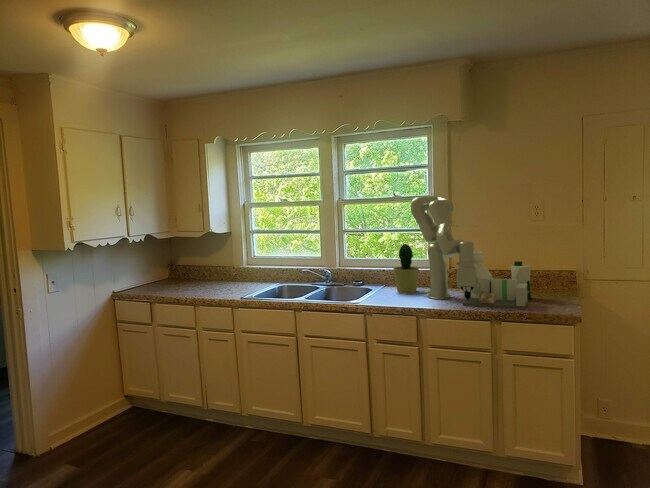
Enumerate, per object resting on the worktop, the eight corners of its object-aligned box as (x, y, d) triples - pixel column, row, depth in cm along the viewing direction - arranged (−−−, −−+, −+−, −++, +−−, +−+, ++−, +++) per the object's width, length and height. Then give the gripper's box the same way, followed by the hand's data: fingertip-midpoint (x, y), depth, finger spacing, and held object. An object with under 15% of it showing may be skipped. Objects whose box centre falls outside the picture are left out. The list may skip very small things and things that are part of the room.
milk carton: (522, 296, 270) (522, 260, 268) (533, 299, 261) (533, 262, 260) (509, 298, 268) (508, 261, 266) (519, 301, 259) (519, 263, 257)
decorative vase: (500, 296, 273) (499, 252, 271) (474, 300, 267) (473, 254, 265) (479, 291, 290) (478, 249, 288) (454, 295, 283) (452, 252, 281)
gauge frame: (463, 305, 256) (462, 282, 255) (468, 300, 267) (467, 277, 266) (524, 309, 242) (524, 284, 241) (527, 303, 254) (527, 279, 252)
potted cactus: (389, 291, 305) (387, 243, 302) (412, 288, 309) (410, 241, 306) (400, 295, 290) (399, 245, 287) (424, 292, 295) (422, 243, 292)
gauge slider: (479, 302, 254) (478, 284, 253) (482, 298, 262) (482, 281, 261) (493, 303, 250) (493, 285, 249) (496, 299, 259) (496, 281, 258)
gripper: (450, 265, 258) (451, 299, 260) (480, 265, 251) (480, 301, 253) (454, 263, 265) (455, 296, 266) (482, 263, 258) (483, 298, 259)
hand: (467, 298), depth 260 cm, fingers closed
